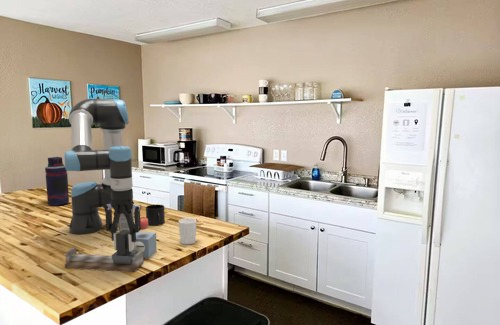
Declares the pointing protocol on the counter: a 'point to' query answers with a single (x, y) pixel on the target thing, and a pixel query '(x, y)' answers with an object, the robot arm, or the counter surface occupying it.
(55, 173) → the striped navy bottle
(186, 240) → the white cup
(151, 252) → the pale blue block
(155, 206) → the mug
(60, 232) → the counter surface
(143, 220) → the plunger
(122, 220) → the coffee box
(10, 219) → the counter surface
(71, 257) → the rail
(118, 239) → the carriage
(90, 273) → the counter surface
